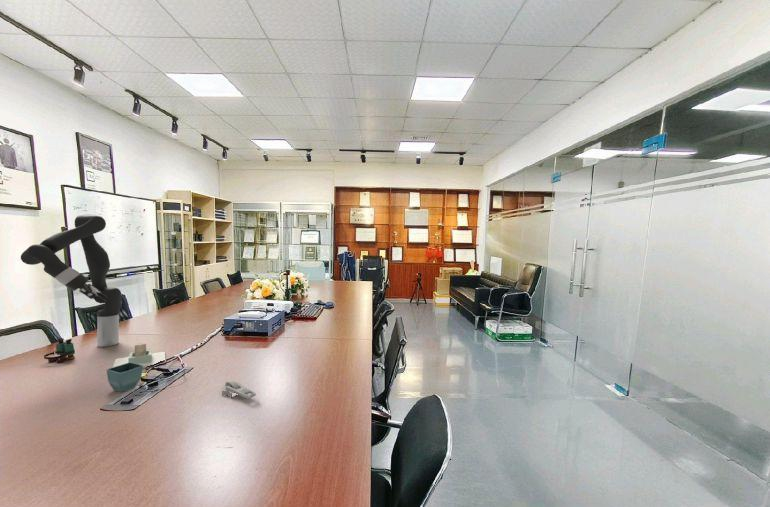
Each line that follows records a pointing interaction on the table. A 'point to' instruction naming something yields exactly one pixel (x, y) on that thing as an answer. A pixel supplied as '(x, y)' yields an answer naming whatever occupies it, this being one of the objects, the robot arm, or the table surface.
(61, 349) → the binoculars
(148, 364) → the holder
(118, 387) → the flower pot
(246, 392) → the zipper pull
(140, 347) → the beige upright block
